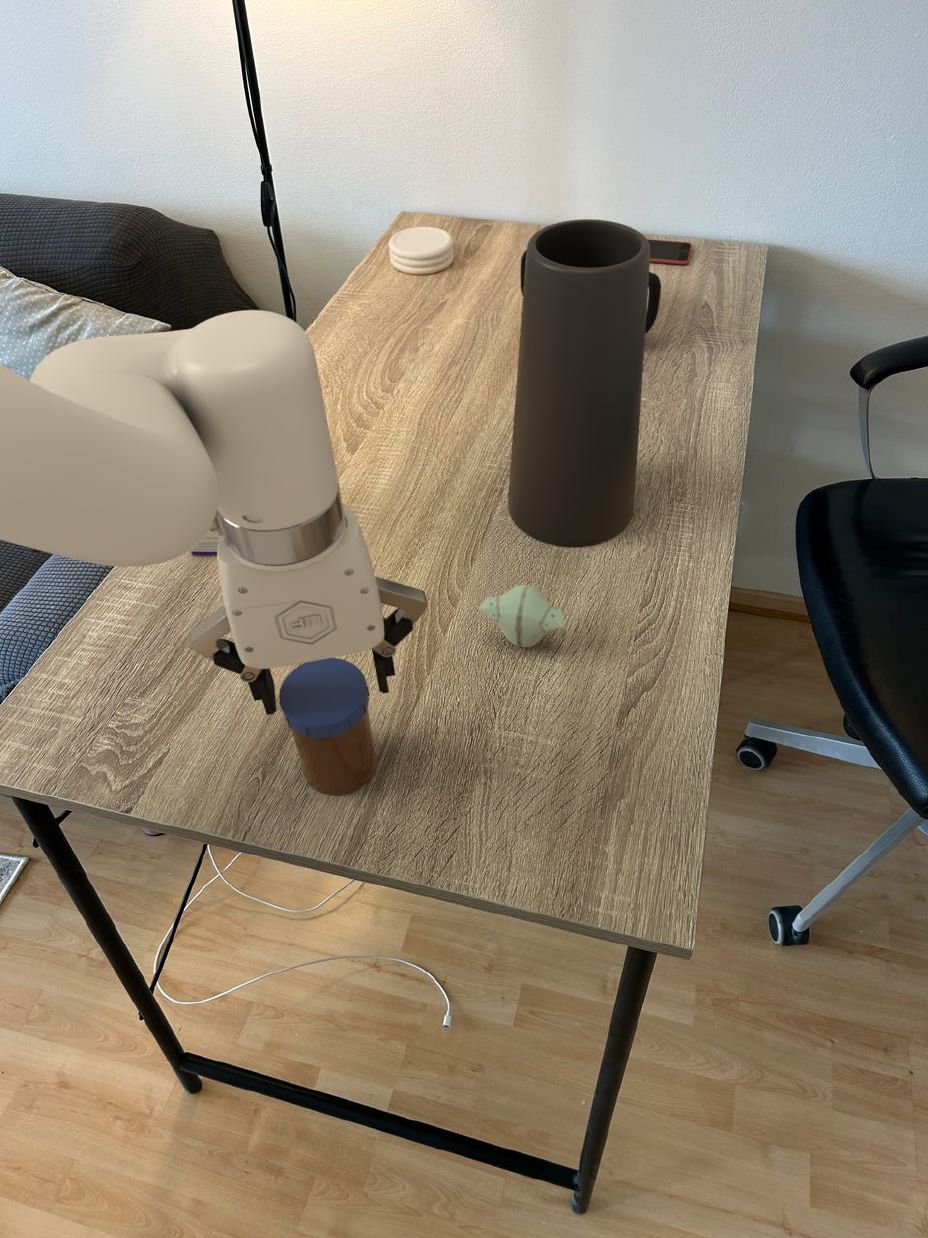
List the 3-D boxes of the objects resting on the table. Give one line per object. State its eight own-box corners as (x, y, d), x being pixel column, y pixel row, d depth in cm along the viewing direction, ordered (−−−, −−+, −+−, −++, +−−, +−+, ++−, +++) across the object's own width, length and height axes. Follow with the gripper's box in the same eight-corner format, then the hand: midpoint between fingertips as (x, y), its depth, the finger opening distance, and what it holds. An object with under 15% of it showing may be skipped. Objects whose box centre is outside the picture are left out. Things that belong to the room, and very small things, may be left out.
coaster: (463, 252, 142) (463, 229, 139) (438, 280, 136) (437, 257, 133) (406, 243, 145) (405, 221, 142) (379, 270, 138) (377, 247, 136)
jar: (345, 808, 73) (329, 739, 66) (288, 773, 75) (266, 704, 68) (391, 754, 76) (380, 684, 69) (335, 723, 79) (318, 652, 72)
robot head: (476, 649, 84) (474, 599, 79) (488, 619, 87) (487, 568, 82) (560, 666, 82) (563, 616, 77) (569, 634, 85) (573, 583, 80)
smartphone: (688, 262, 135) (596, 254, 138) (688, 265, 136) (596, 257, 139) (693, 242, 140) (603, 234, 143) (692, 245, 140) (603, 238, 143)
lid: (332, 753, 66) (328, 739, 65) (265, 714, 69) (261, 701, 68) (386, 693, 70) (384, 679, 69) (320, 659, 73) (317, 645, 72)
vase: (488, 528, 96) (484, 264, 75) (534, 456, 104) (542, 201, 83) (611, 560, 92) (642, 291, 71) (648, 483, 100) (686, 222, 79)
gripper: (138, 578, 52) (212, 751, 65) (430, 529, 54) (447, 706, 67) (144, 499, 57) (212, 673, 70) (411, 457, 59) (430, 634, 72)
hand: (326, 689), depth 69 cm, fingers open, 8 cm apart
